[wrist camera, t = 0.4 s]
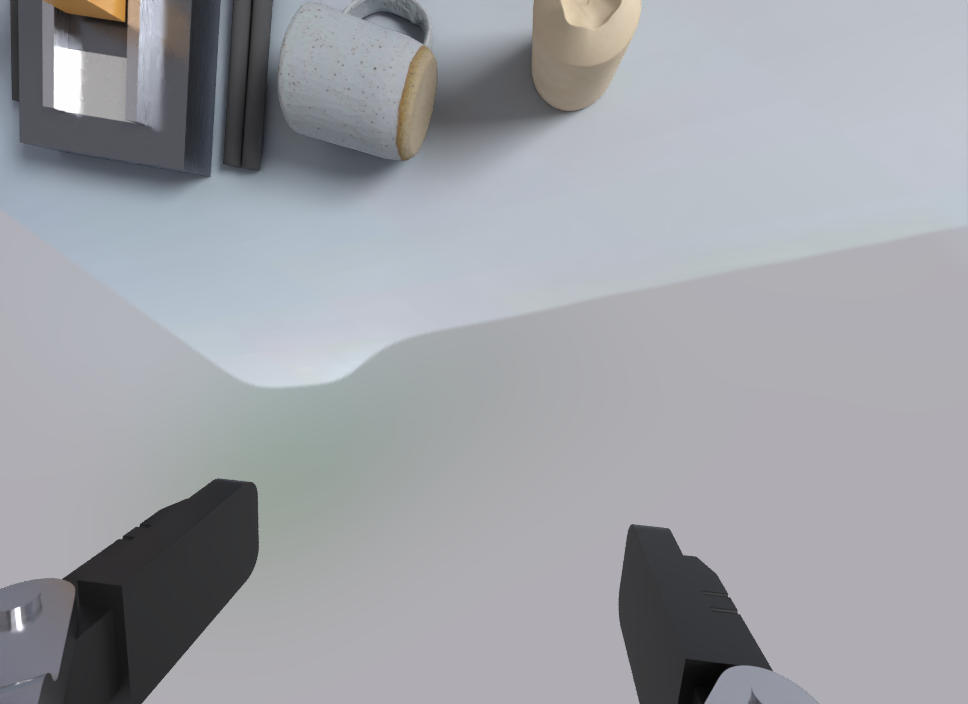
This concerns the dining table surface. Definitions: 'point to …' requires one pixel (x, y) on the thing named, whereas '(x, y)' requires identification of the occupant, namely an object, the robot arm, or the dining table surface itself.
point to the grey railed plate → (237, 79)
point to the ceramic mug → (358, 78)
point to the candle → (579, 48)
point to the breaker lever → (93, 8)
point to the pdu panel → (121, 82)
